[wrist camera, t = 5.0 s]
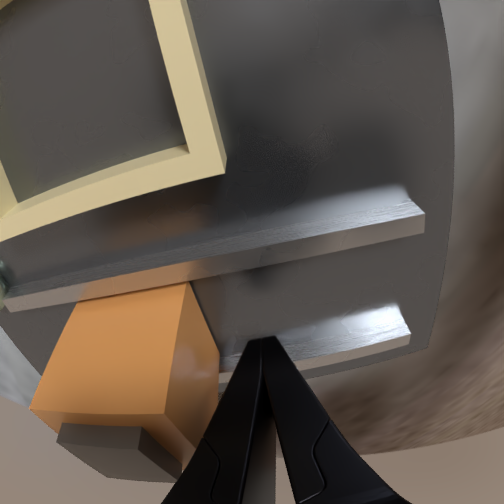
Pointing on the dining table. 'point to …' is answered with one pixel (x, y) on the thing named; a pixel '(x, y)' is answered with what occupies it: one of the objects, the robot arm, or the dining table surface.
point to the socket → (147, 167)
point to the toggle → (132, 383)
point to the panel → (238, 172)
